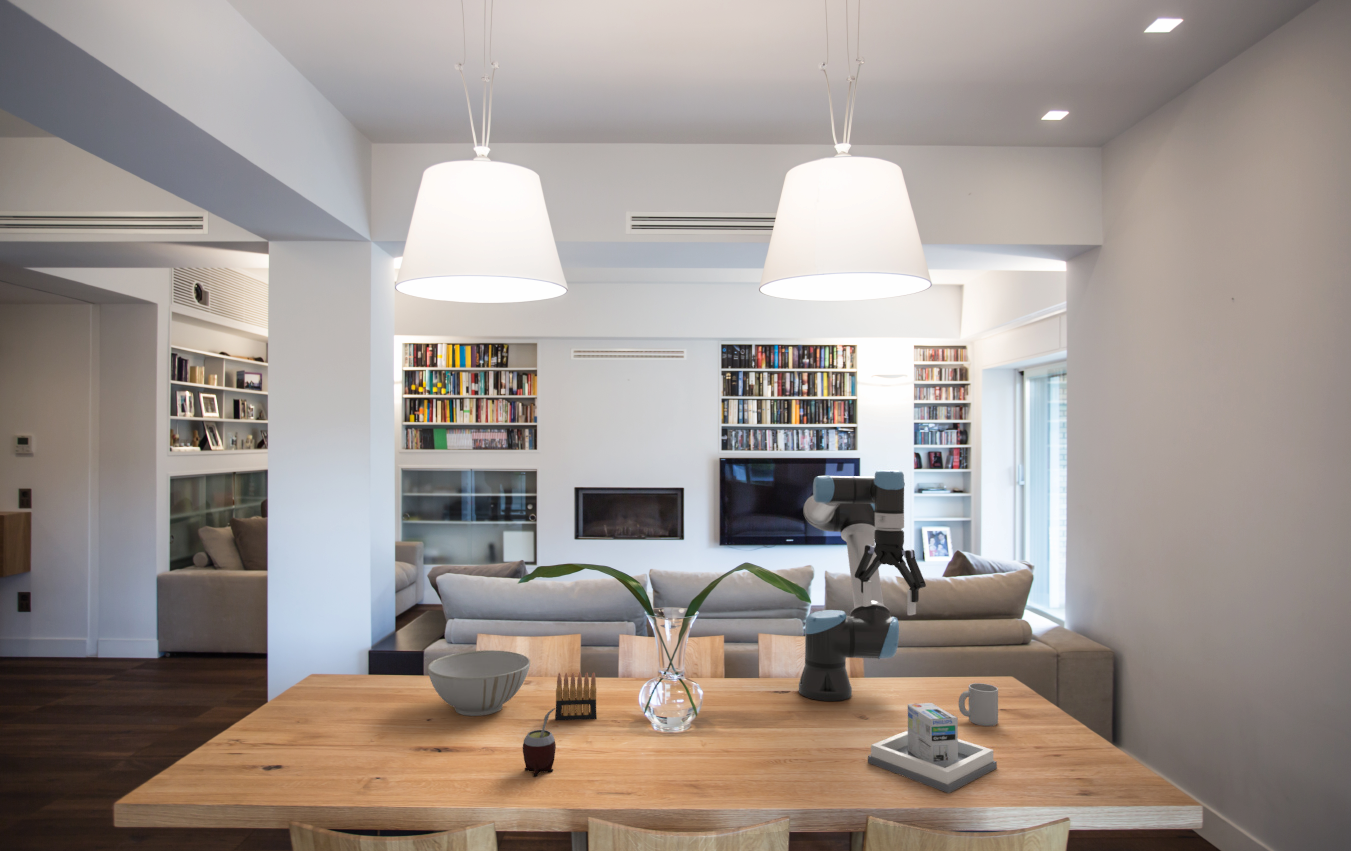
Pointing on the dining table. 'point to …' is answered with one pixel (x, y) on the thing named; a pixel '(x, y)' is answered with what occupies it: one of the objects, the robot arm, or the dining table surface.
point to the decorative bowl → (478, 679)
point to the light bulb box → (932, 734)
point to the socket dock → (947, 779)
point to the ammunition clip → (576, 699)
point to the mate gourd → (539, 750)
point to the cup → (980, 704)
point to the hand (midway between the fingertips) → (888, 610)
